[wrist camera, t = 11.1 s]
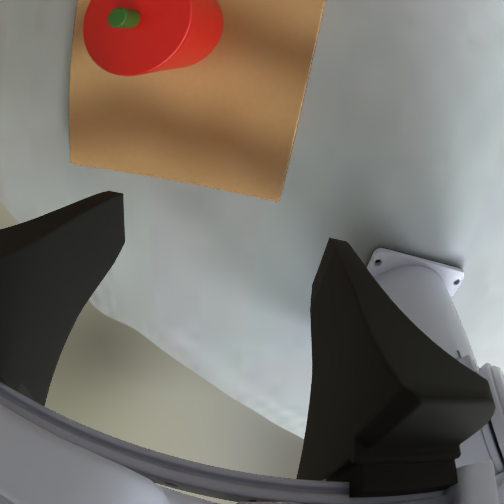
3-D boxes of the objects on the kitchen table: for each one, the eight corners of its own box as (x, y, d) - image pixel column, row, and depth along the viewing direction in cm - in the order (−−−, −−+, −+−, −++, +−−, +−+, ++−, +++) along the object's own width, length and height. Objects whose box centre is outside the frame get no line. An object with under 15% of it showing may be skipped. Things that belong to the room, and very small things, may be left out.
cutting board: (280, 192, 20) (279, 202, 18) (81, 156, 20) (69, 164, 19) (341, -82, 9) (344, -91, 8) (111, -85, 10) (99, -90, 8)
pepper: (215, 72, 15) (170, 83, 9) (132, 66, 15) (60, 80, 10) (231, -12, 12) (192, -46, 7) (144, -13, 12) (73, -32, 7)
